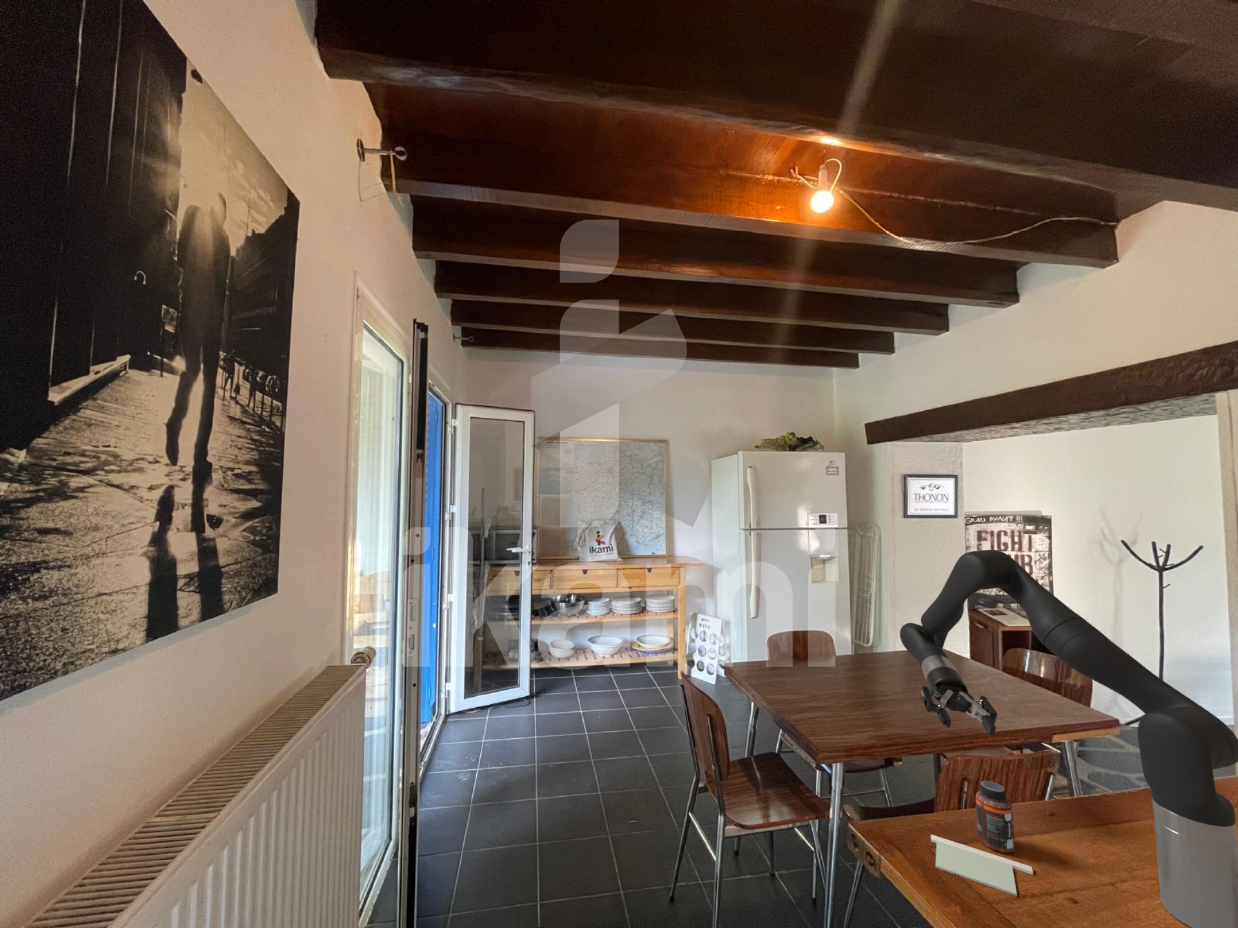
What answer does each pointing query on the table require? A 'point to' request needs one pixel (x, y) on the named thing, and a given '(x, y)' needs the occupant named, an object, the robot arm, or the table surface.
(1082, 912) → the table surface
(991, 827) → the supplement bottle
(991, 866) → the white flat t-shaped panel
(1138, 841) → the table surface
